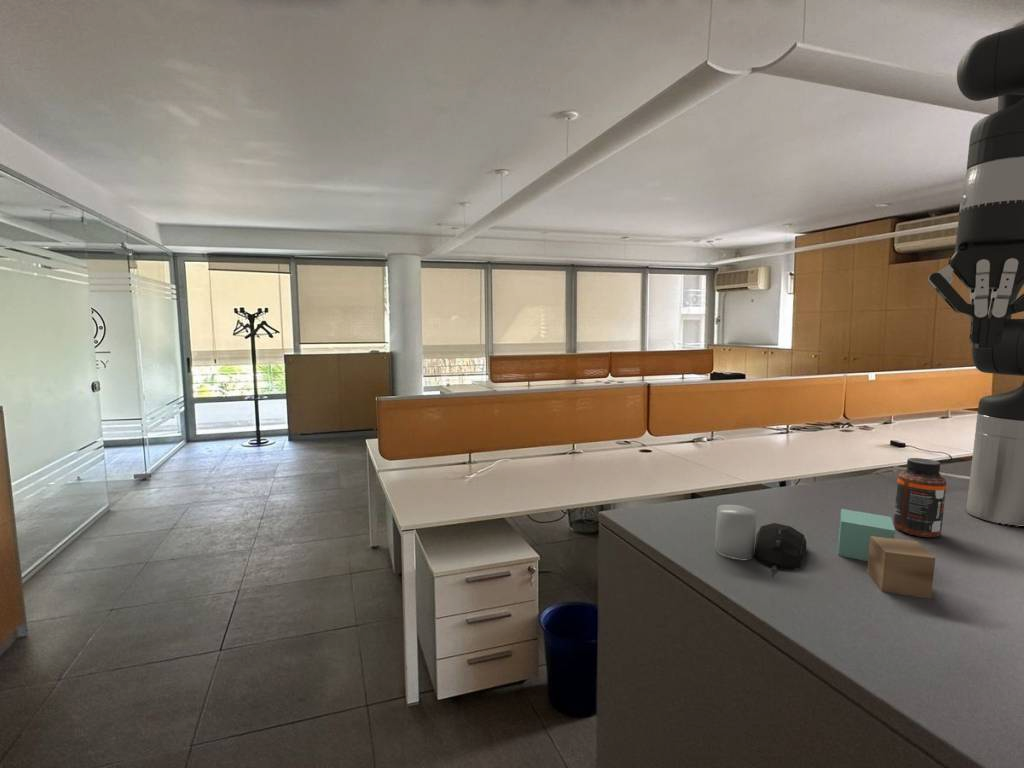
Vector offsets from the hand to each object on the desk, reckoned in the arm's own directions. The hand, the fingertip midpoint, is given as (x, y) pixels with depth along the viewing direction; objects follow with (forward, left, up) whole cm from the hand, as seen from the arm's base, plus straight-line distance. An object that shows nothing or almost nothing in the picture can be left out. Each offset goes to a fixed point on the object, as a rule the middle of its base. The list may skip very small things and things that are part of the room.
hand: (983, 348), depth 65 cm
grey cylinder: (+10, -26, -29) cm, 40 cm away
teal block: (0, -10, -29) cm, 31 cm away
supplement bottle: (-14, -3, -29) cm, 33 cm away
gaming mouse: (+8, -20, -30) cm, 37 cm away
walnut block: (+9, -7, -29) cm, 31 cm away
